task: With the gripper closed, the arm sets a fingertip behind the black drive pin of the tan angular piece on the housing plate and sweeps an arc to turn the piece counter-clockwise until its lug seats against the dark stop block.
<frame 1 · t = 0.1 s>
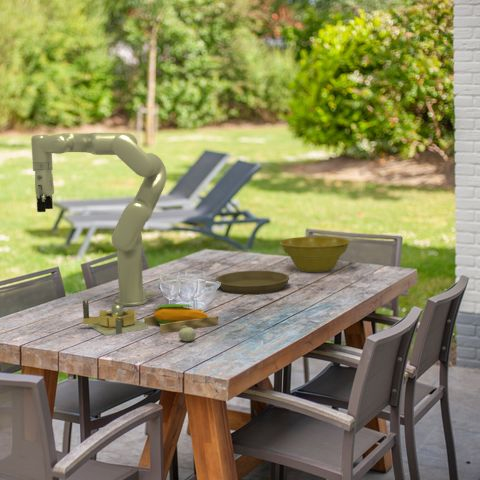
hand: (45, 210, 378), 37 cm above the table, tool pointing down, fingers open, 9 cm apart
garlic: (187, 341, 319), on the table
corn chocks: (181, 325, 341), on the table
corn: (181, 324, 341), touching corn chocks
planter bowl: (315, 270, 440), on the table
housing plate: (117, 327, 340), on the table
tan angular piece: (109, 311, 340), point 6 cm above the table, hinge at 0.0°
plant saucer: (252, 288, 405), on the table
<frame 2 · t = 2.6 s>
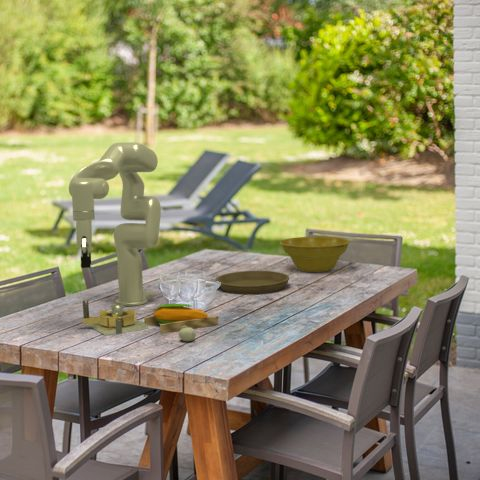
hand: (86, 265, 342), 22 cm above the table, tool pointing down, fingers open, 6 cm apart
nothing on the table moved.
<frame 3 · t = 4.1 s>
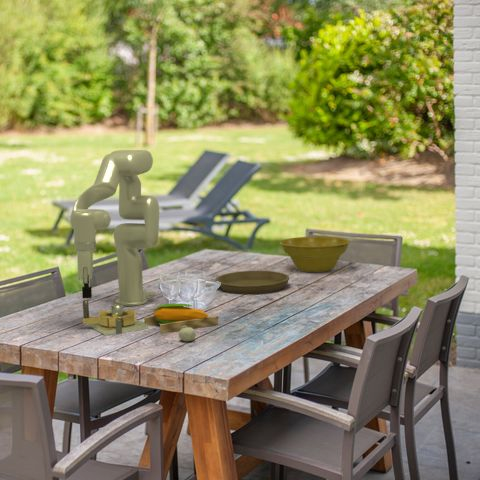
hand: (87, 297, 343), 10 cm above the table, tool pointing down, fingers closed
nothing on the table moved.
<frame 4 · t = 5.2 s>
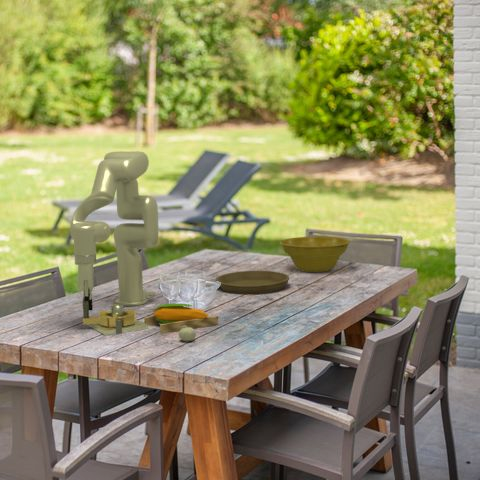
hand: (88, 310, 343), 6 cm above the table, tool pointing down, fingers closed
tan angular piece: (109, 311, 340), point 6 cm above the table, hinge at 0.7°, touching gripper
everything else where it was.
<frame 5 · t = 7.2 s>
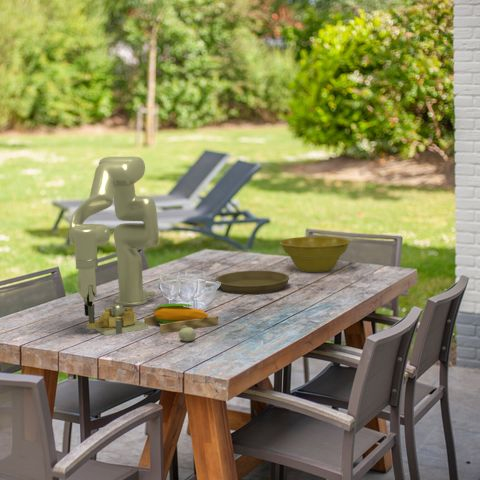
hand: (89, 315, 335), 6 cm above the table, tool pointing down, fingers closed
tan angular piece: (110, 312, 338), point 6 cm above the table, hinge at 45.0°, touching gripper
everything else where it was.
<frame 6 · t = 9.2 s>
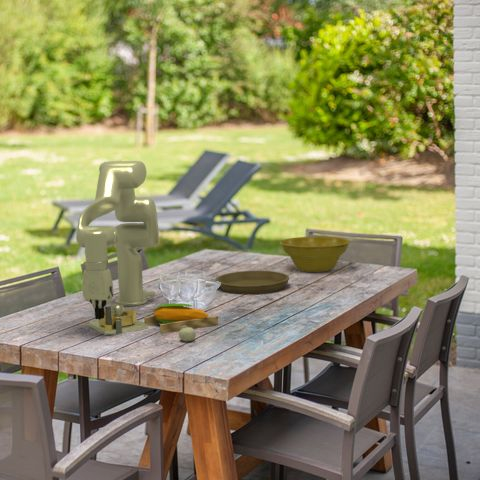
hand: (99, 318, 330), 6 cm above the table, tool pointing down, fingers closed
tan angular piece: (115, 313, 337), point 6 cm above the table, hinge at 82.6°, touching gripper, housing plate
everything else where it was.
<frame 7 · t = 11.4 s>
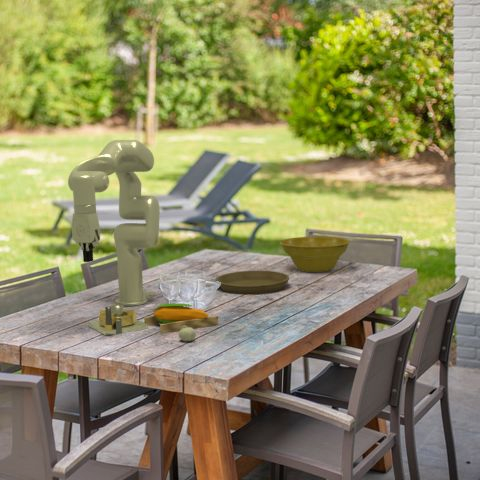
hand: (88, 261, 338), 24 cm above the table, tool pointing down, fingers closed
tan angular piece: (115, 313, 337), point 6 cm above the table, hinge at 82.6°
everything else where it was.
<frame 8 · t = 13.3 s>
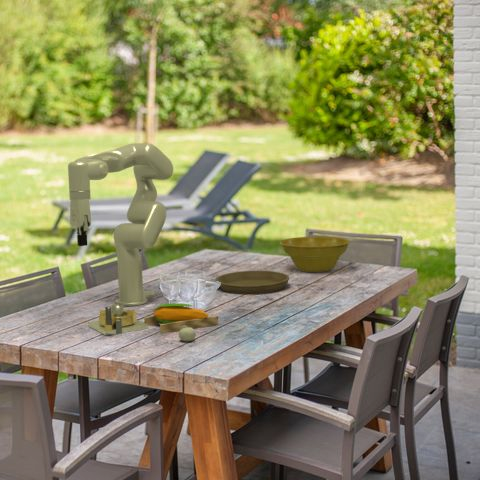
hand: (82, 245, 353), 27 cm above the table, tool pointing down, fingers closed
nothing on the table moved.
at the end: tan angular piece at +83° (first picture: +0°); the gripper is holding nothing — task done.
